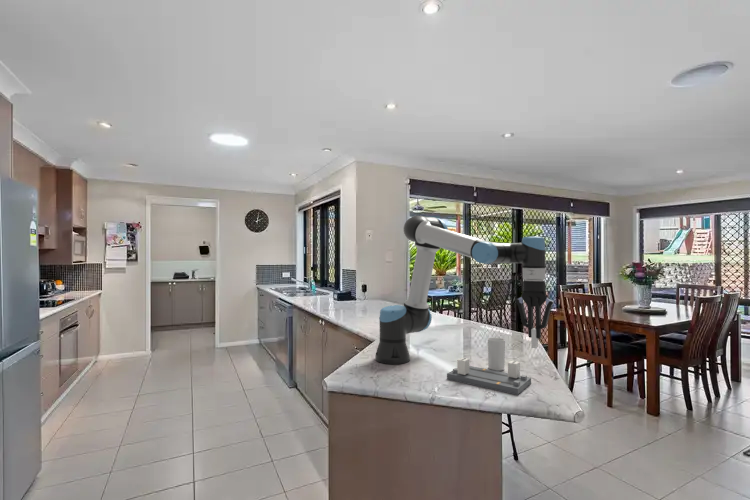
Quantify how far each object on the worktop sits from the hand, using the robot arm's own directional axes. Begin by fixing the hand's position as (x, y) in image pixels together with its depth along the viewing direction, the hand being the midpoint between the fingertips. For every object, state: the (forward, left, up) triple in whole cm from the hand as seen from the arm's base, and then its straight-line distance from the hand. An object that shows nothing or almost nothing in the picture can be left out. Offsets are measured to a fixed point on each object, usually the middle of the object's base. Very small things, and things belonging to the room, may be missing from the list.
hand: (534, 347), depth 132 cm
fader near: (-23, -8, -12) cm, 27 cm away
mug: (-19, +15, -14) cm, 28 cm away
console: (-15, -4, -14) cm, 21 cm away
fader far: (-7, 0, -12) cm, 14 cm away
